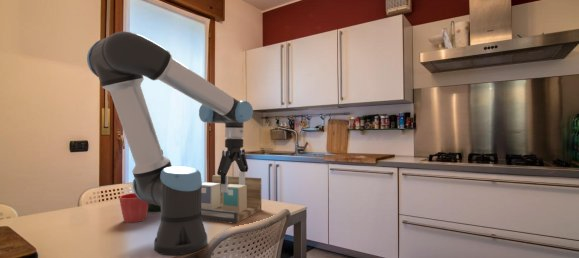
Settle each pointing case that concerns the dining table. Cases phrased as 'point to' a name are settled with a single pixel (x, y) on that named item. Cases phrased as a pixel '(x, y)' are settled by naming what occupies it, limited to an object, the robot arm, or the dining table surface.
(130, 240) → the dining table surface
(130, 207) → the flower pot
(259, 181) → the shelf
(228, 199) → the tea box
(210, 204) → the cream box
